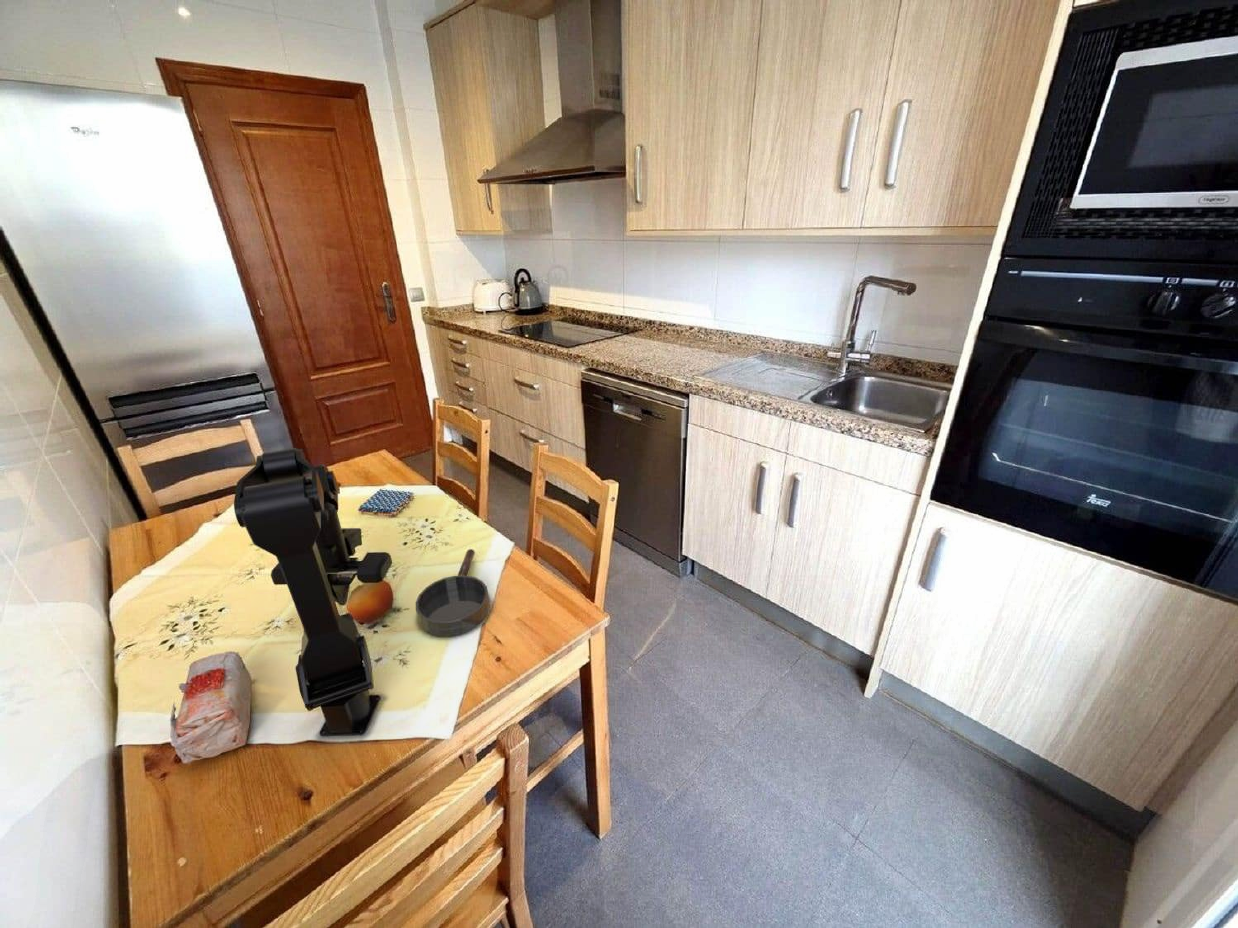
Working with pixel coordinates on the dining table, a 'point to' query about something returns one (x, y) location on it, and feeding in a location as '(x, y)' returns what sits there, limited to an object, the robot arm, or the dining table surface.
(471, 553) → the pan handle
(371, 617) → the fruit
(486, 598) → the pan
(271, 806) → the dining table surface
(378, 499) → the woven mat
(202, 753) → the food item
